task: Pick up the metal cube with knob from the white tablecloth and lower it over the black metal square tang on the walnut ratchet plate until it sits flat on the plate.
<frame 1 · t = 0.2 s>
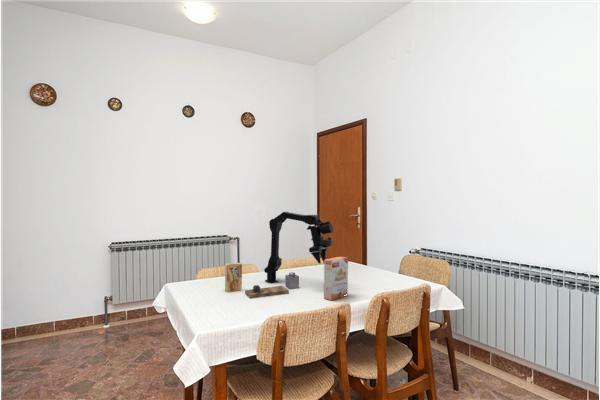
hand: (322, 262, 209), 15 cm above the table, tool pointing down, fingers open, 9 cm apart
ratchet plate: (266, 293, 197), on the table
candy box: (233, 290, 203), on the table
metal cube with knob: (292, 287, 210), on the table
cracker box: (336, 297, 191), on the table
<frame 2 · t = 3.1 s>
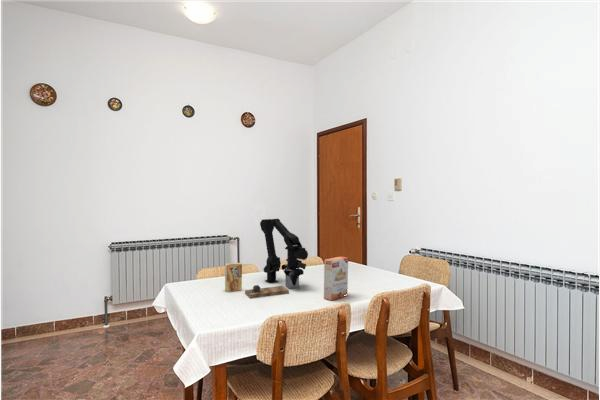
hand: (292, 284, 210), 2 cm above the table, tool pointing down, fingers closed on metal cube with knob, 6 cm apart
metal cube with knob: (292, 287, 210), on the table, touching gripper
everything else where it was.
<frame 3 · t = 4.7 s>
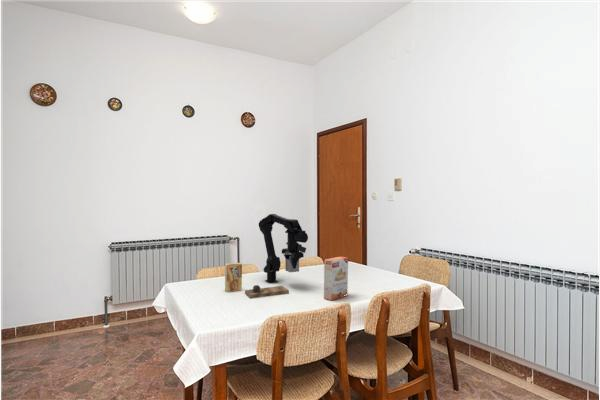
hand: (292, 267, 210), 12 cm above the table, tool pointing down, fingers closed on metal cube with knob, 6 cm apart
metal cube with knob: (292, 270, 210), point 10 cm above the table, touching gripper
everything else where it was.
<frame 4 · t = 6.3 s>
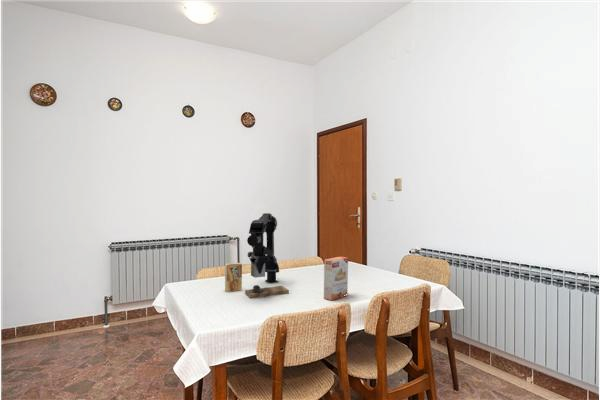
hand: (257, 272, 194), 12 cm above the table, tool pointing down, fingers closed on metal cube with knob, 6 cm apart
metal cube with knob: (258, 276, 194), point 10 cm above the table, touching gripper
everything else where it was.
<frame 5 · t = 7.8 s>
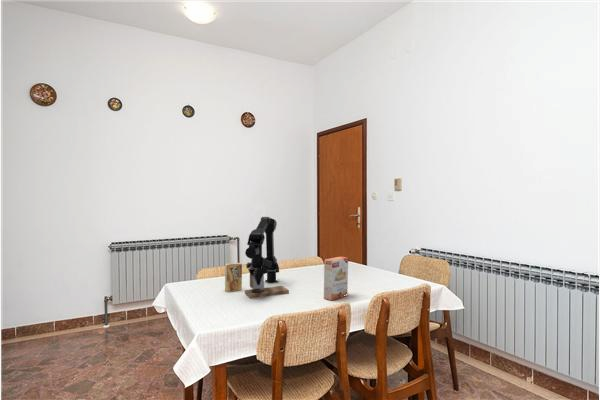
hand: (256, 283, 194), 6 cm above the table, tool pointing down, fingers closed on metal cube with knob, 6 cm apart
metal cube with knob: (256, 287, 194), point 4 cm above the table, touching gripper
everything else where it was.
when the fingers open (4 cm above the table, at t = 9.4 s): metal cube with knob stays where it is, resting on ratchet plate.
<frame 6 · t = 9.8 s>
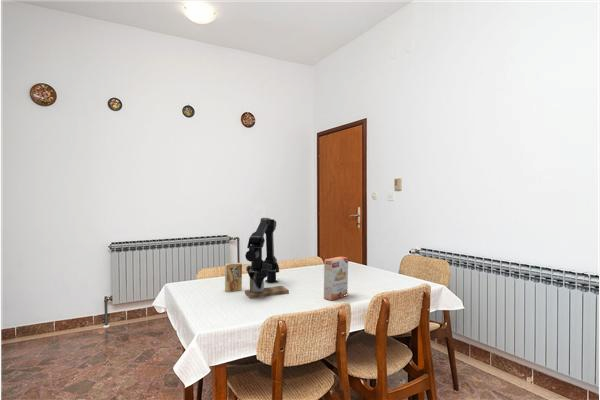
hand: (256, 286, 194), 4 cm above the table, tool pointing down, fingers open, 9 cm apart
metal cube with knob: (256, 291, 194), point 2 cm above the table, touching ratchet plate
everything else where it was.
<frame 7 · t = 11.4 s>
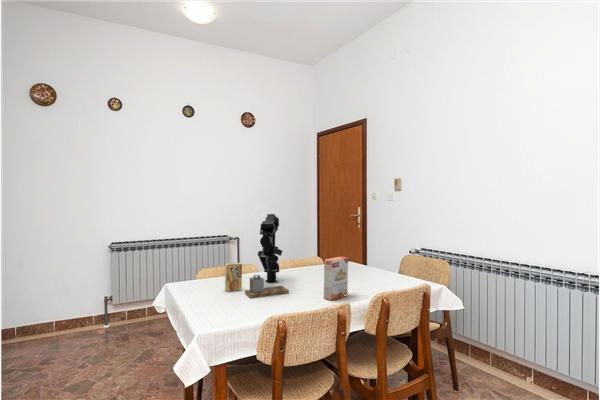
hand: (267, 270, 204), 11 cm above the table, tool pointing down, fingers open, 9 cm apart
nothing on the table moved.
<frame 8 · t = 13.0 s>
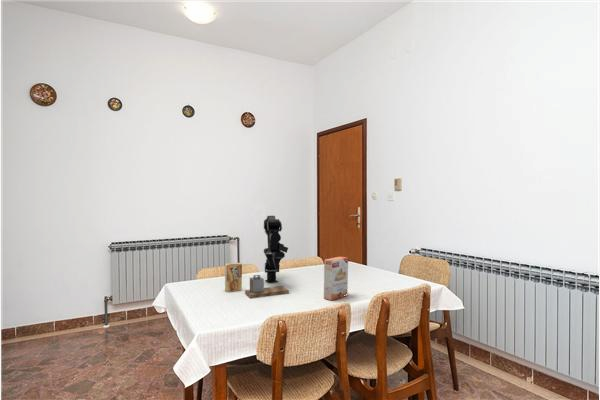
hand: (273, 267, 209), 12 cm above the table, tool pointing down, fingers open, 9 cm apart
nothing on the table moved.
at the end: metal cube with knob 0.1 cm from the target spot on the ratchet plate, point 2.0 cm above the ratchet plate's base; metal cube with knob tilted 0°; the gripper is holding nothing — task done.
